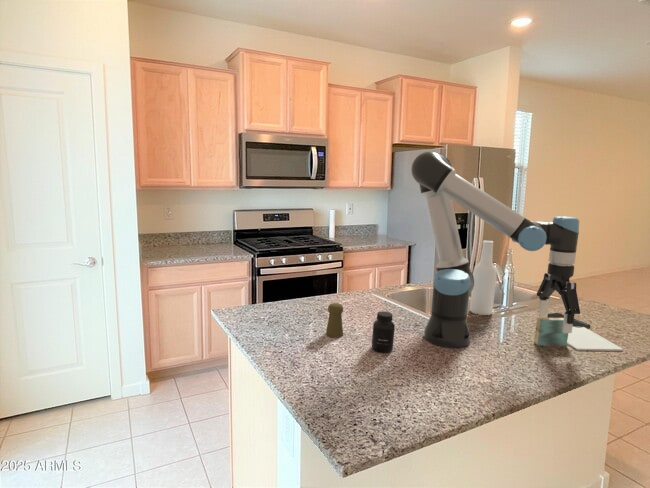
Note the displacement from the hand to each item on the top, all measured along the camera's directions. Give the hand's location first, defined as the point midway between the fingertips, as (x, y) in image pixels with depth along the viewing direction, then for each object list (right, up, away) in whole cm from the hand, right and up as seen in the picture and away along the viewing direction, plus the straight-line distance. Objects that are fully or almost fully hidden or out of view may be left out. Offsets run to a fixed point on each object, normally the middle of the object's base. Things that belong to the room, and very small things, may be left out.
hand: (554, 325), depth 140 cm
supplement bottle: (-59, -7, -8) cm, 60 cm away
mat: (+13, -6, +7) cm, 16 cm away
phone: (+18, -4, +24) cm, 31 cm away
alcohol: (-13, -1, +31) cm, 34 cm away
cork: (-74, -4, +3) cm, 74 cm away
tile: (-1, -7, +1) cm, 7 cm away
